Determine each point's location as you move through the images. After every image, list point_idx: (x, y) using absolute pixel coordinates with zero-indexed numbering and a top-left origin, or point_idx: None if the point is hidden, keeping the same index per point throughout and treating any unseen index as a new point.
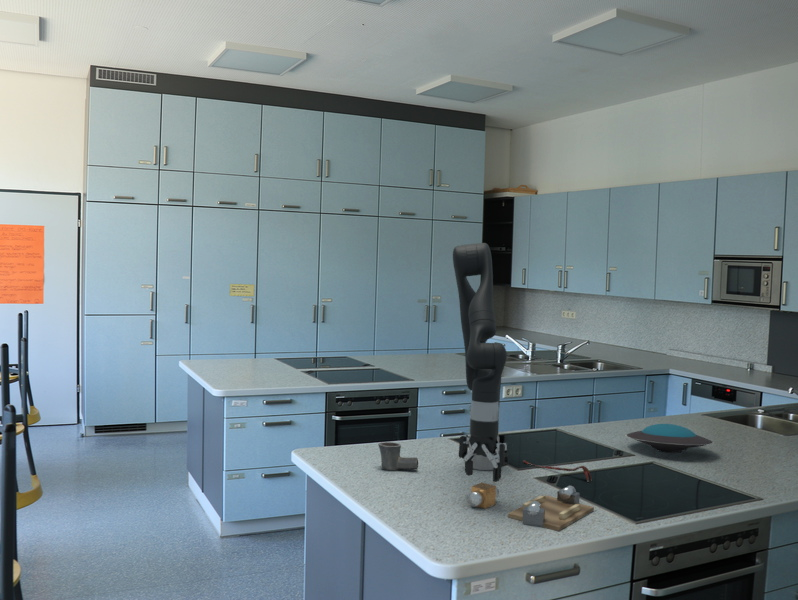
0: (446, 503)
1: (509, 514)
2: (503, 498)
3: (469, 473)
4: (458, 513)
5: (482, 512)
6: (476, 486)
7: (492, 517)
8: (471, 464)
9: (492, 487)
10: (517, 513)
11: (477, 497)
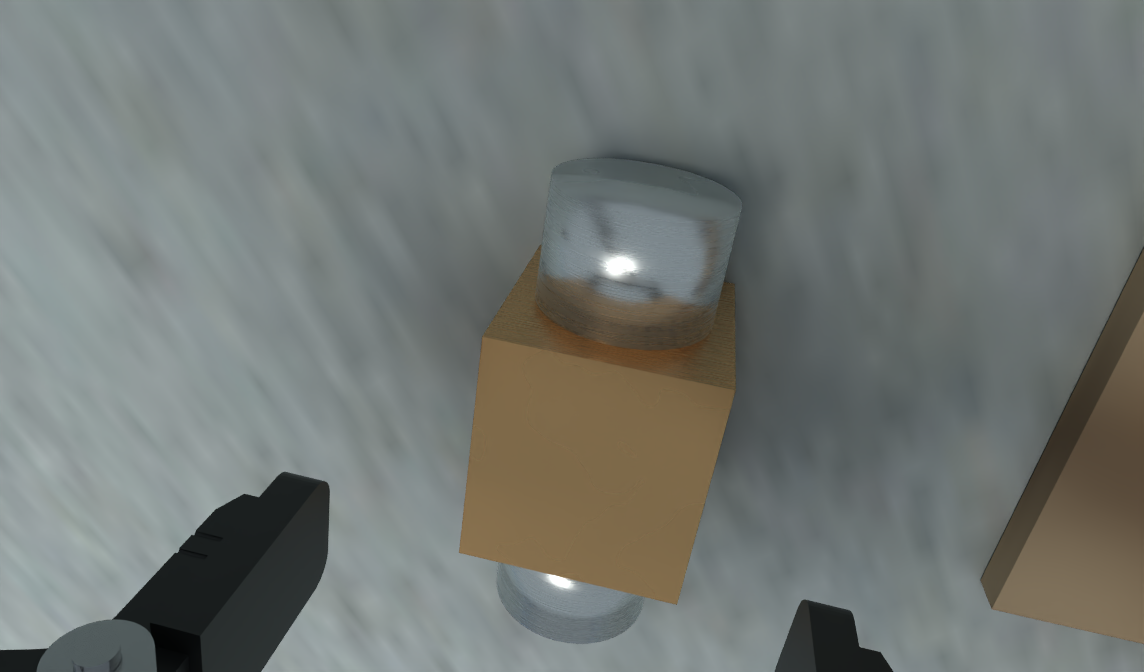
0: None
1: (1006, 605)
2: (756, 11)
3: (314, 563)
4: (534, 657)
5: (705, 563)
6: (513, 531)
7: None
8: (239, 626)
9: (712, 466)
10: (1097, 580)
11: (621, 625)
